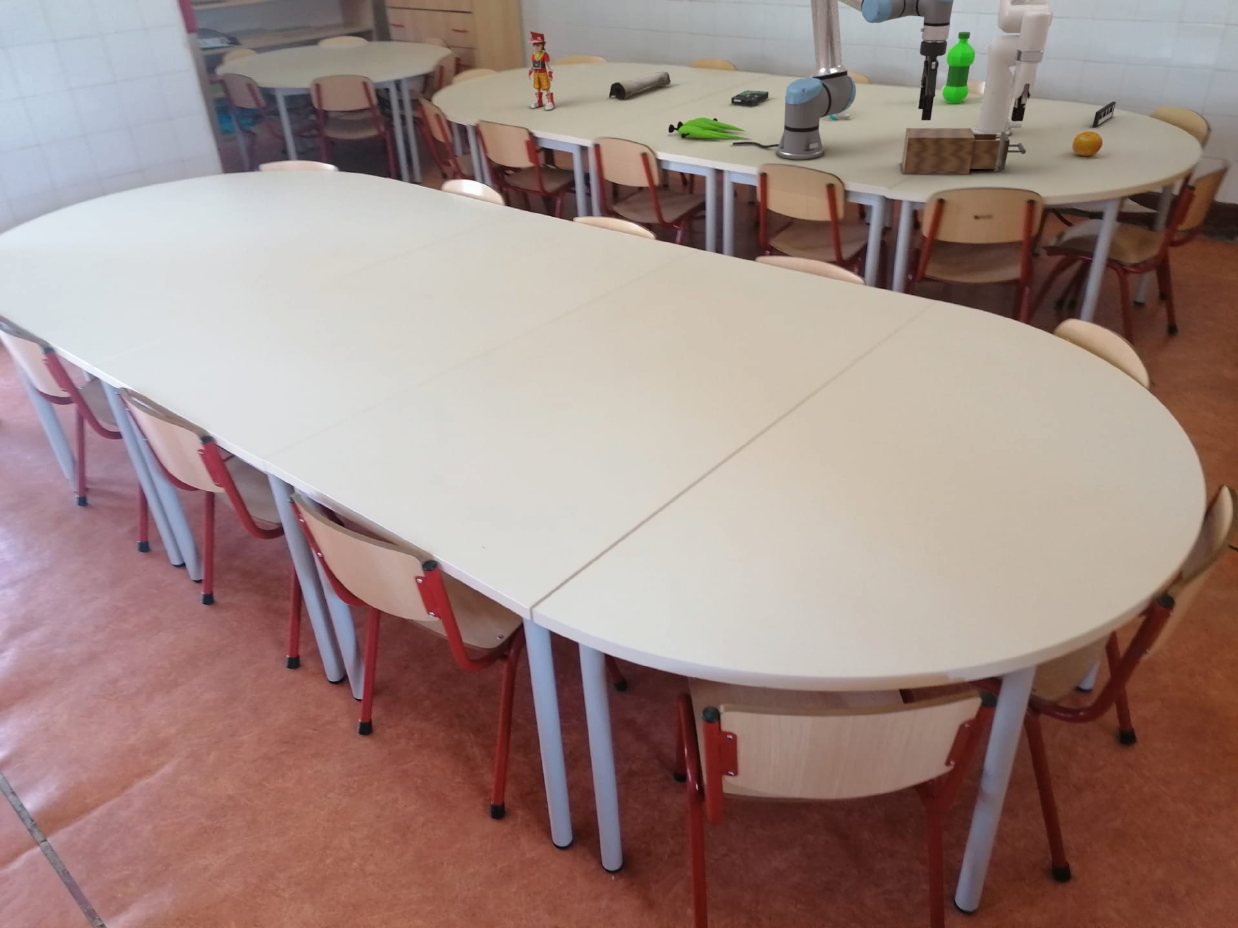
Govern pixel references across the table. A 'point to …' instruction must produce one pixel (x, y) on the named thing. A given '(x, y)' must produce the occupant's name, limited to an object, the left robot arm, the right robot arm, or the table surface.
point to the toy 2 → (704, 129)
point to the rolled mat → (638, 84)
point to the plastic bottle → (958, 69)
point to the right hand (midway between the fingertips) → (1016, 120)
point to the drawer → (992, 151)
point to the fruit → (1087, 143)
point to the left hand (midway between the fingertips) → (924, 114)
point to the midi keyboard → (1104, 113)
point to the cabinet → (937, 150)
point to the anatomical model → (839, 116)
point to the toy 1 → (541, 71)
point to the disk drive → (749, 98)
